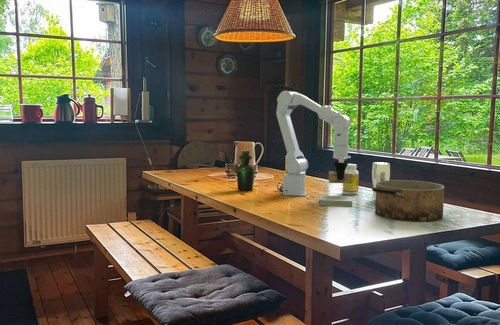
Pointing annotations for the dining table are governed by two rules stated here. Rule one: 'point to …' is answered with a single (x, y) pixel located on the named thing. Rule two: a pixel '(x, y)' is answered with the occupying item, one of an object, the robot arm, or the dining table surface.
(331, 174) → the pallet
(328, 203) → the dock
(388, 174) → the beer glass
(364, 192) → the dining table surface
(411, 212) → the cooking pot
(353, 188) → the supplement bottle
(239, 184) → the potion bottle
